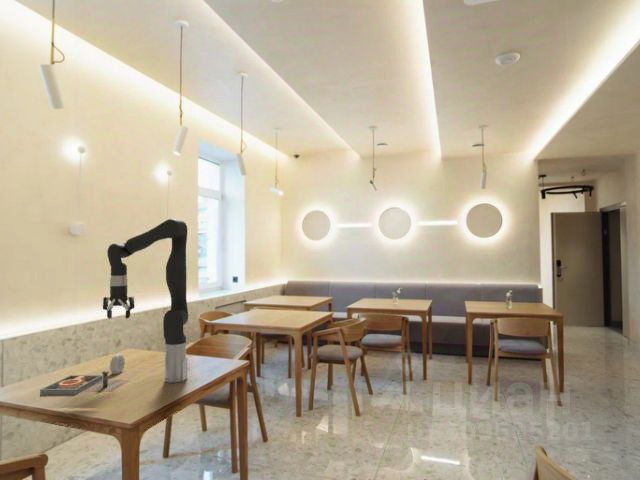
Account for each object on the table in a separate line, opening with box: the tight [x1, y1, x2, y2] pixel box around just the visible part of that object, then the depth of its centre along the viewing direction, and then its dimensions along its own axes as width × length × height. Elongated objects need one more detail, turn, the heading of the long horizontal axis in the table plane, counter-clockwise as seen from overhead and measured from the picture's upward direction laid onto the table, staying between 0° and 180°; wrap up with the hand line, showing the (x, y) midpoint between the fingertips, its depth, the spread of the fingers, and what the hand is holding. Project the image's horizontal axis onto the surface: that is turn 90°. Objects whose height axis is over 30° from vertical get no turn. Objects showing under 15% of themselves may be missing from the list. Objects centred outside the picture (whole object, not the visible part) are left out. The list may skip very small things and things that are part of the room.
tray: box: [39, 374, 103, 398], centre depth 178 cm, size 15×20×3 cm
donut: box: [109, 353, 126, 375], centre depth 200 cm, size 10×4×10 cm, turn 177°
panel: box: [83, 370, 130, 393], centre depth 180 cm, size 12×16×8 cm
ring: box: [57, 376, 86, 389], centre depth 179 cm, size 8×13×3 cm, turn 0°
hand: (118, 318), depth 197 cm, fingers open, 8 cm apart
